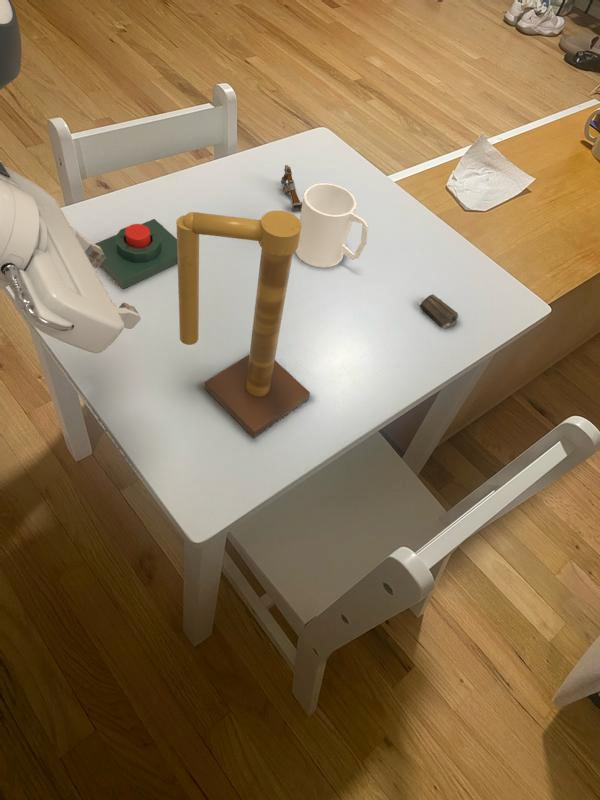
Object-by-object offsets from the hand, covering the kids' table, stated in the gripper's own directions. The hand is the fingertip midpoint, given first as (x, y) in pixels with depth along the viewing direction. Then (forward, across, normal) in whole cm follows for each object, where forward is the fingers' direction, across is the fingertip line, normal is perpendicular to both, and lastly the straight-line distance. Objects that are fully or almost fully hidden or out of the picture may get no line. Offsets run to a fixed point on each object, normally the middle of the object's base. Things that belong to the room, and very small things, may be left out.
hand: (116, 287), depth 61 cm
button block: (+22, +26, +6) cm, 34 cm away
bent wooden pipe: (+16, -3, -1) cm, 16 cm away
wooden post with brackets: (+44, +30, -14) cm, 55 cm away
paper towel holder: (+25, -5, +4) cm, 26 cm away
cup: (+42, +14, -13) cm, 47 cm away
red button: (+20, +25, +4) cm, 33 cm away
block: (+49, -4, -20) cm, 53 cm away
